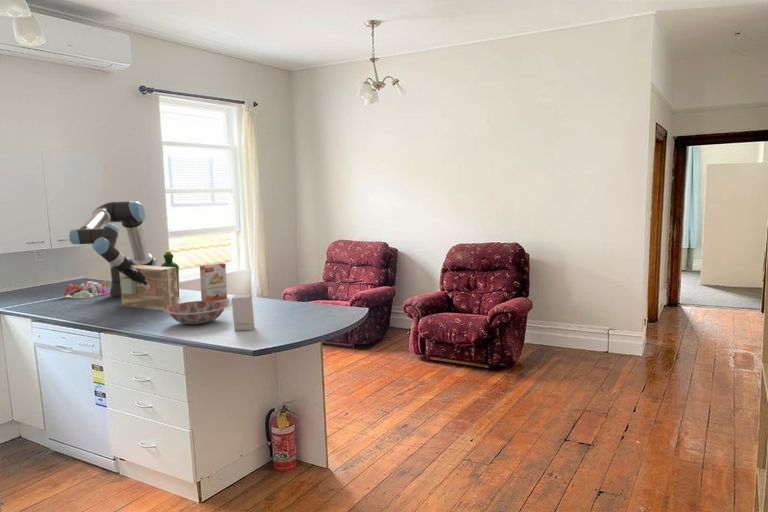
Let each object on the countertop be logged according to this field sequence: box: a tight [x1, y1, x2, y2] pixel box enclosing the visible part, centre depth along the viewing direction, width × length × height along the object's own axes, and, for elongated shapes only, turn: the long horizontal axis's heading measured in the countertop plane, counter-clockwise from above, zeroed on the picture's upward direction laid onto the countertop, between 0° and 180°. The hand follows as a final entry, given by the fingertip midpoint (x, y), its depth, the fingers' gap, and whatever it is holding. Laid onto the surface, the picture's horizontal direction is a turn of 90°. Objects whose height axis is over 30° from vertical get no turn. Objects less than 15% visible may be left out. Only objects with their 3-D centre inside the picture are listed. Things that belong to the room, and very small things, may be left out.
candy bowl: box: [63, 279, 111, 299], centre depth 357 cm, size 25×24×9 cm
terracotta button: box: [145, 279, 157, 295], centre depth 309 cm, size 3×8×8 cm, turn 62°
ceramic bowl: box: [164, 300, 229, 325], centre depth 275 cm, size 29×29×8 cm
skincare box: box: [231, 294, 255, 331], centre depth 259 cm, size 8×7×16 cm
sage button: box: [121, 278, 136, 294], centre depth 314 cm, size 3×8×8 cm, turn 62°
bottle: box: [160, 250, 180, 298], centre depth 337 cm, size 11×11×28 cm
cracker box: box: [199, 262, 228, 301], centre depth 330 cm, size 14×6×21 cm, turn 141°
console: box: [119, 265, 180, 311], centre depth 316 cm, size 10×34×22 cm, turn 62°
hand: (148, 287), depth 306 cm, fingers closed
